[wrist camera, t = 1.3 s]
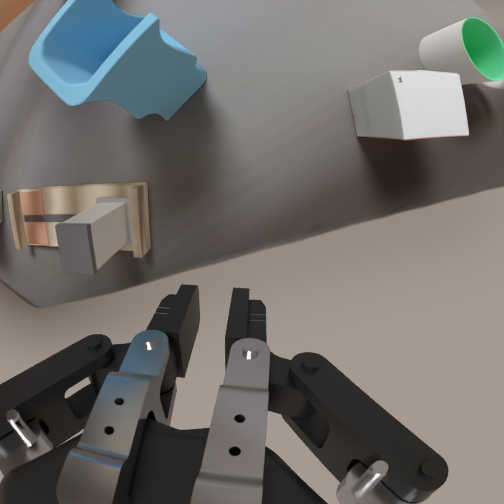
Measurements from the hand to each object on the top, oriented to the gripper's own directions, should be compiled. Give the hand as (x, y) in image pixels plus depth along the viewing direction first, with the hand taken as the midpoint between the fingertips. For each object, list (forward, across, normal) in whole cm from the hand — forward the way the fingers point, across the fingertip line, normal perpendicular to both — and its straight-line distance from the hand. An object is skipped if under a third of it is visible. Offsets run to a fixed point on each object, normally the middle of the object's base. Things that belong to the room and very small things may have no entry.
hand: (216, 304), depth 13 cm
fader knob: (+23, -17, -3) cm, 29 cm away
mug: (+25, +28, +22) cm, 44 cm away
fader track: (+25, -24, -3) cm, 35 cm away
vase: (+25, -10, +15) cm, 31 cm away
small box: (+25, +16, +12) cm, 33 cm away
